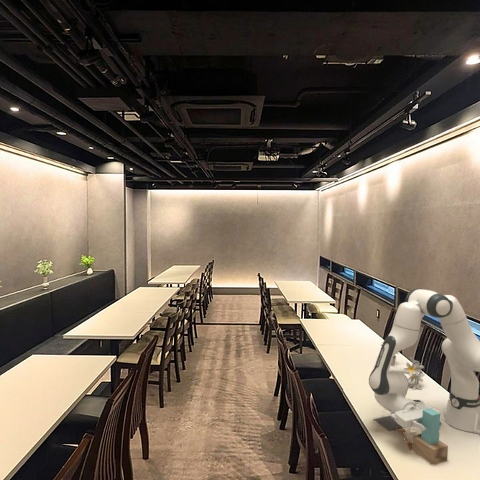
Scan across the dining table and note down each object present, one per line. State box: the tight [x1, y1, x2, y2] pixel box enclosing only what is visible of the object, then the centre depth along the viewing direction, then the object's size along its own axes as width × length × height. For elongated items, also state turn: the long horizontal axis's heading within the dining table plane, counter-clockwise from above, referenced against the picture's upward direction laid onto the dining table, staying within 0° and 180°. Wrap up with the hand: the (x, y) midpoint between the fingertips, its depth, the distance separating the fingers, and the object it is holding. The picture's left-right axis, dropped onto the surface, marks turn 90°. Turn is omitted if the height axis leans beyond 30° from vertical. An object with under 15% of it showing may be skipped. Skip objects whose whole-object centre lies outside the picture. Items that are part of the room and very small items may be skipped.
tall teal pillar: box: [420, 408, 441, 445], centre depth 149 cm, size 4×4×12 cm
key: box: [396, 427, 412, 450], centre depth 160 cm, size 6×1×15 cm
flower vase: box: [389, 356, 425, 391], centre depth 219 cm, size 13×18×25 cm
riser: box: [411, 433, 449, 466], centre depth 149 cm, size 8×10×6 cm
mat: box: [373, 415, 404, 432], centre depth 173 cm, size 12×10×1 cm
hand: (433, 426), depth 148 cm, fingers open, 8 cm apart
